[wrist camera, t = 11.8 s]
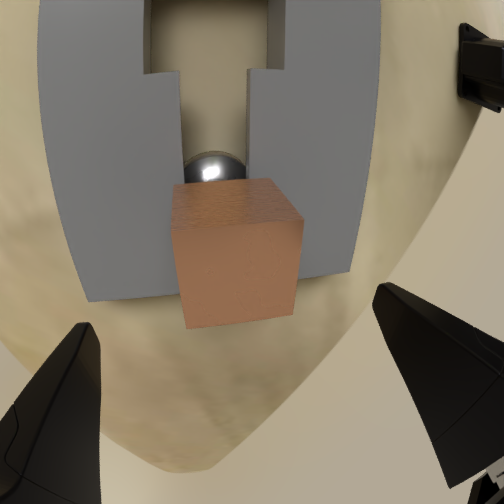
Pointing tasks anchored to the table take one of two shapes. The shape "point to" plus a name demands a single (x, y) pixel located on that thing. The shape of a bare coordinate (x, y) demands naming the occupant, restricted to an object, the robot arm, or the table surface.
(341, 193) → the keyhole plate
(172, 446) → the table surface
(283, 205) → the key peg
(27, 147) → the table surface
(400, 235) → the table surface
